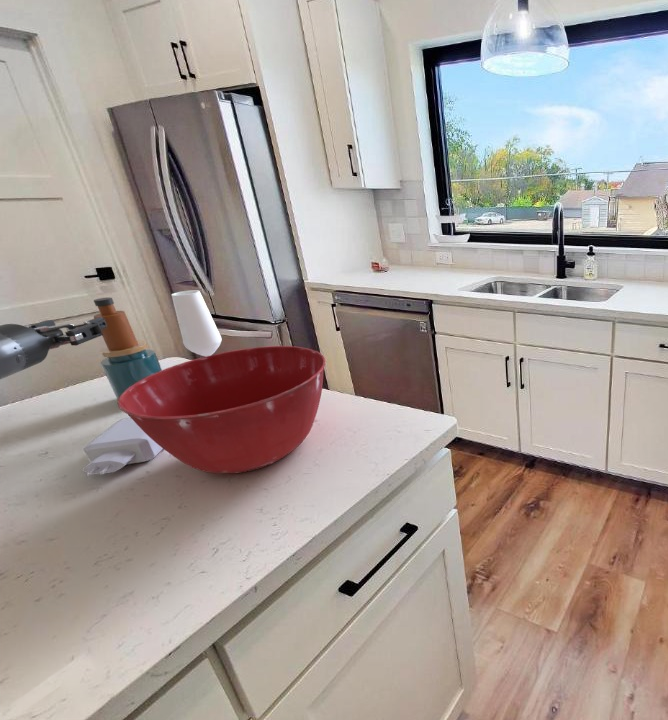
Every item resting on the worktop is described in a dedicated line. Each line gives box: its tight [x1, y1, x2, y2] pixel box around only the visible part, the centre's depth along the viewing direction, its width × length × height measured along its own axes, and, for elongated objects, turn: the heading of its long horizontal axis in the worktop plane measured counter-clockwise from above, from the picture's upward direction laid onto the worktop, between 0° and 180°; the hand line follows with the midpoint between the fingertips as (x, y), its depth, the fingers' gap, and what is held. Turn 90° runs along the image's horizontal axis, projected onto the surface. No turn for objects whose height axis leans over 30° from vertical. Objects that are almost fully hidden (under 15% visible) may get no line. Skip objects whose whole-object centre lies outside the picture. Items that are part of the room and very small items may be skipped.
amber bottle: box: [93, 296, 138, 351], centre depth 89 cm, size 5×5×11 cm
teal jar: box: [99, 340, 163, 401], centre depth 94 cm, size 9×9×12 cm
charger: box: [82, 417, 164, 477], centre depth 73 cm, size 5×9×15 cm
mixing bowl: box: [117, 345, 326, 474], centre depth 73 cm, size 28×28×16 cm
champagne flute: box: [171, 289, 222, 357], centre depth 93 cm, size 7×7×24 cm
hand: (78, 323), depth 82 cm, fingers open, 8 cm apart
